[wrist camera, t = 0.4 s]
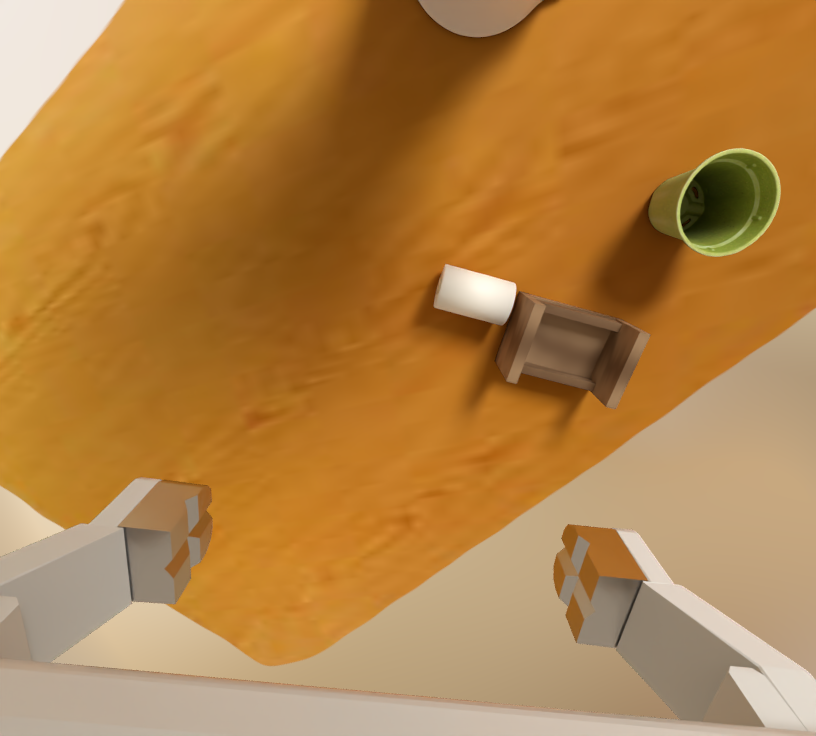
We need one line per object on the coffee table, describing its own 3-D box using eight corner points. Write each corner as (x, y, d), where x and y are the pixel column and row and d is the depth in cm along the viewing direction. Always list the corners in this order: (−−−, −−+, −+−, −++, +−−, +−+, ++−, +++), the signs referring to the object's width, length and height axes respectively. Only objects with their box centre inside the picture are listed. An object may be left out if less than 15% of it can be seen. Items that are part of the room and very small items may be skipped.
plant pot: (694, 138, 47) (754, 124, 39) (733, 212, 49) (797, 212, 41) (617, 198, 49) (658, 196, 41) (658, 265, 51) (705, 276, 43)
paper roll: (431, 302, 53) (433, 311, 48) (443, 261, 51) (446, 266, 47) (497, 320, 54) (506, 330, 49) (511, 280, 52) (521, 287, 47)
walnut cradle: (519, 291, 52) (535, 303, 46) (621, 319, 54) (650, 334, 47) (494, 360, 55) (506, 381, 49) (591, 385, 56) (615, 409, 50)
